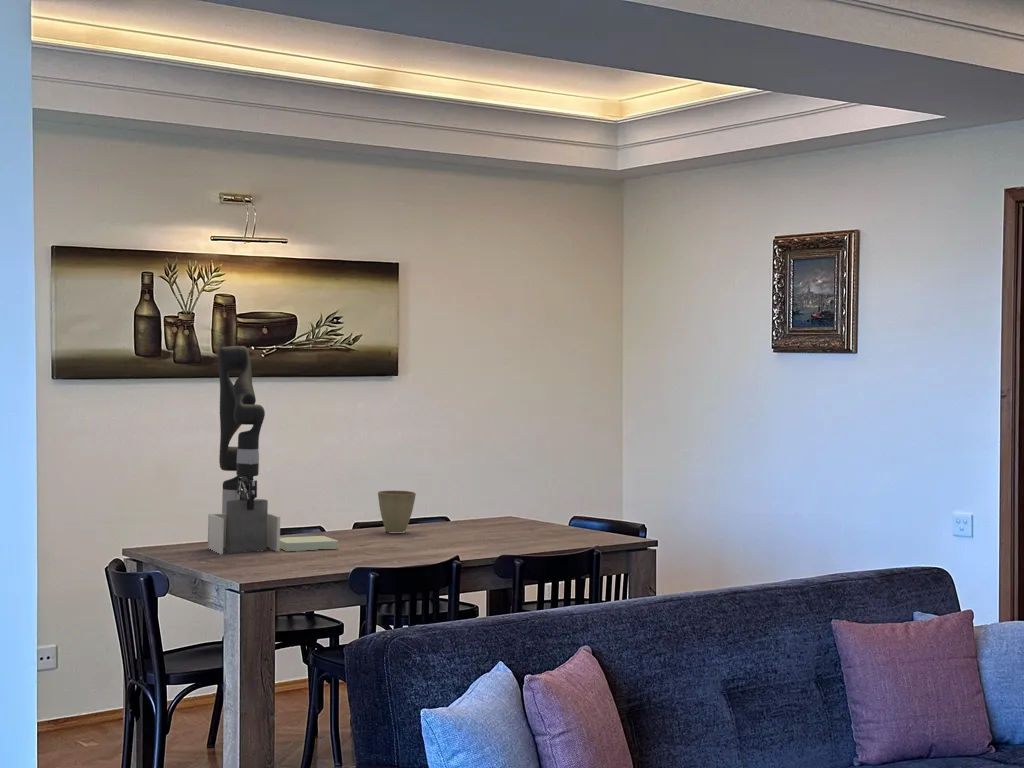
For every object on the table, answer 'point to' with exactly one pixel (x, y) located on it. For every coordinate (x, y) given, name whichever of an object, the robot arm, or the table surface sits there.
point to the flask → (246, 525)
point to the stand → (307, 543)
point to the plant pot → (396, 509)
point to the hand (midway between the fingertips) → (246, 508)
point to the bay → (219, 532)
